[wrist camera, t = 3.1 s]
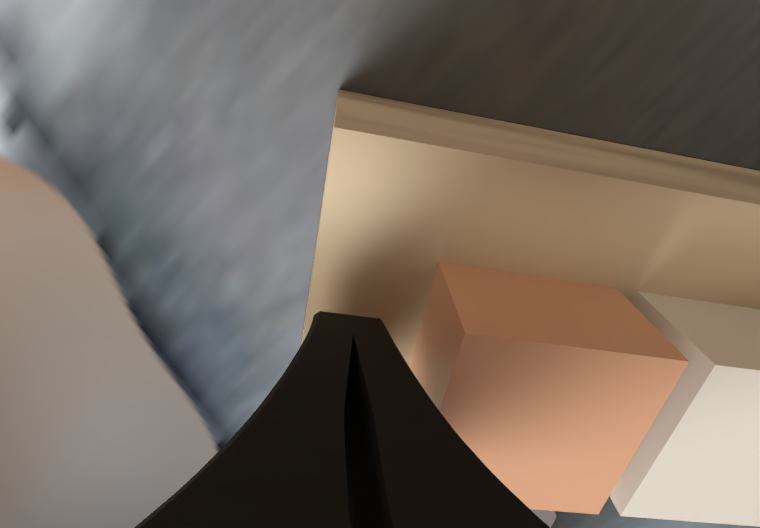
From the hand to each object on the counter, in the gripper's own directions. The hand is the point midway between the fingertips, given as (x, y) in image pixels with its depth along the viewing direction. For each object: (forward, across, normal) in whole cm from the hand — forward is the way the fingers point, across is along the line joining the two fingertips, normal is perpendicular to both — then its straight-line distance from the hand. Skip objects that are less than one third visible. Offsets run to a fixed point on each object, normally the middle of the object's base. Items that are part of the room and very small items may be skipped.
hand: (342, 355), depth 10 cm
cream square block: (+1, -8, 0) cm, 8 cm away
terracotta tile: (+1, -4, 0) cm, 4 cm away
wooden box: (+6, -6, 0) cm, 8 cm away
